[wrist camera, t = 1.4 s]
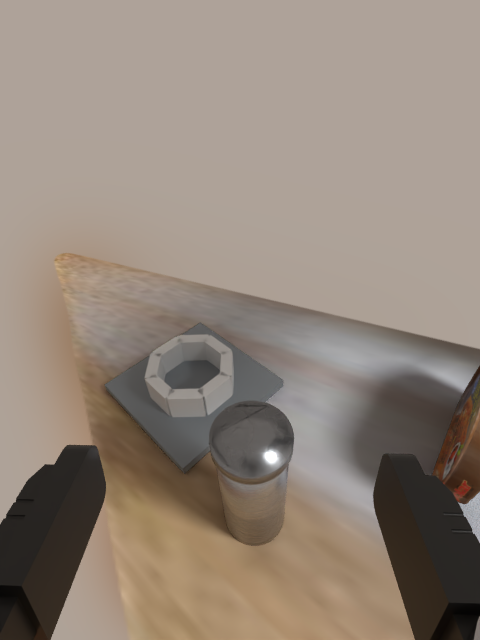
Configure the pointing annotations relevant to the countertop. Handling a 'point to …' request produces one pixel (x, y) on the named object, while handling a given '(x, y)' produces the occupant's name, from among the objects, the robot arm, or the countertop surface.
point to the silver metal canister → (252, 468)
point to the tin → (462, 446)
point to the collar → (190, 390)
